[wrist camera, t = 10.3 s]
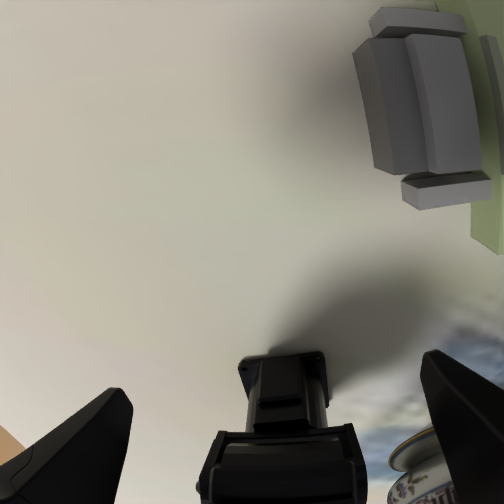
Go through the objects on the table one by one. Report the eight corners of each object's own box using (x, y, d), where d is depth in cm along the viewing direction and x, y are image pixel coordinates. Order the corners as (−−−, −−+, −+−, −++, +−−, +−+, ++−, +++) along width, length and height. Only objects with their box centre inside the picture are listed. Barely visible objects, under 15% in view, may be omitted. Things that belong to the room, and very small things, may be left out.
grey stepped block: (442, 159, 16) (482, 169, 12) (373, 167, 17) (402, 178, 13) (424, 53, 14) (460, 38, 10) (351, 54, 15) (374, 32, 10)
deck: (544, 220, 16) (577, 238, 12) (405, 249, 19) (432, 278, 15) (514, 5, 10) (546, -5, 6) (353, -22, 12) (371, -54, 8)
